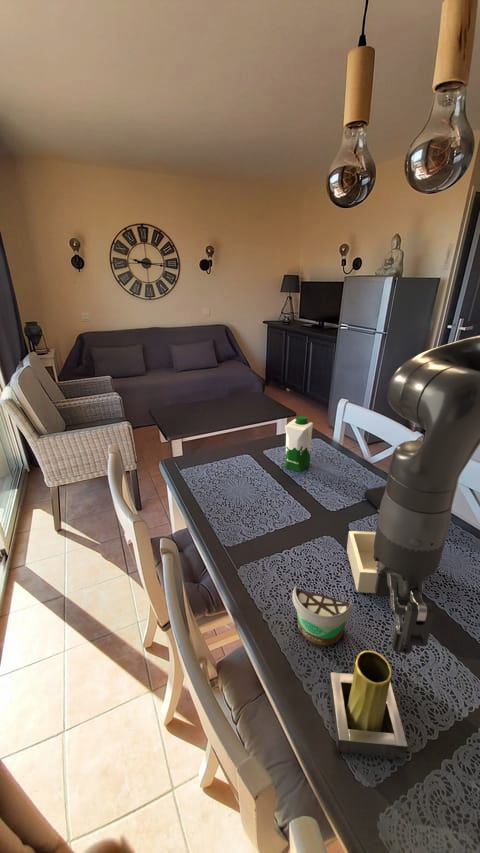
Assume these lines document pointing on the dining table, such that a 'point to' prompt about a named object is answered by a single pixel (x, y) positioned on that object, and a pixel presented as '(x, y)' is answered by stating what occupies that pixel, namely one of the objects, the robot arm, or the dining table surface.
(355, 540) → the cream wooden open box
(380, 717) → the vase
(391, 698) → the grey square frame
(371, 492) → the carrying case
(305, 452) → the milk carton
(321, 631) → the food container
